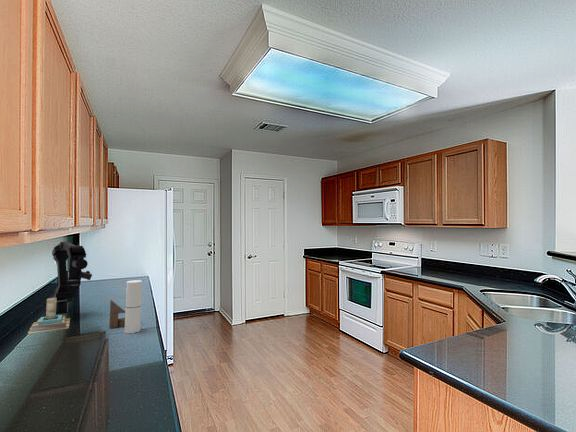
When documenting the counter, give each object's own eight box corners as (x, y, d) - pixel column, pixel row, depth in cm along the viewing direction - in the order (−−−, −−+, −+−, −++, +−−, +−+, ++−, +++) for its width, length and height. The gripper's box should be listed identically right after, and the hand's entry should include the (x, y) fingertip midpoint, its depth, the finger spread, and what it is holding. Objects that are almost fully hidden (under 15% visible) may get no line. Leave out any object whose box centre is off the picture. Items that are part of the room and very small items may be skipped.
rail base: (33, 324, 164) (33, 317, 164) (70, 319, 173) (70, 313, 173) (27, 335, 147) (27, 328, 147) (68, 329, 156) (68, 323, 156)
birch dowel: (47, 323, 160) (49, 297, 161) (56, 322, 161) (58, 297, 162) (43, 325, 156) (45, 299, 157) (53, 325, 157) (54, 299, 158)
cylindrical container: (124, 334, 151) (126, 282, 152) (124, 330, 157) (126, 280, 158) (140, 332, 154) (142, 282, 155) (140, 328, 160) (141, 279, 161)
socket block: (40, 325, 160) (40, 317, 160) (61, 322, 165) (62, 314, 165) (38, 330, 152) (38, 321, 153) (60, 327, 157) (61, 319, 157)
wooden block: (109, 326, 162) (110, 292, 163) (131, 323, 168) (133, 290, 169) (109, 328, 159) (111, 293, 160) (133, 325, 165) (134, 291, 166)
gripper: (91, 268, 173) (90, 297, 172) (91, 265, 188) (90, 291, 188) (67, 270, 166) (66, 299, 166) (69, 266, 182) (67, 292, 181)
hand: (73, 295), depth 175 cm, fingers open, 9 cm apart
